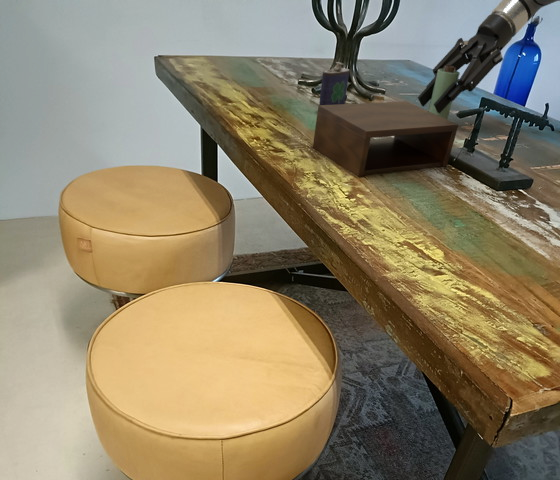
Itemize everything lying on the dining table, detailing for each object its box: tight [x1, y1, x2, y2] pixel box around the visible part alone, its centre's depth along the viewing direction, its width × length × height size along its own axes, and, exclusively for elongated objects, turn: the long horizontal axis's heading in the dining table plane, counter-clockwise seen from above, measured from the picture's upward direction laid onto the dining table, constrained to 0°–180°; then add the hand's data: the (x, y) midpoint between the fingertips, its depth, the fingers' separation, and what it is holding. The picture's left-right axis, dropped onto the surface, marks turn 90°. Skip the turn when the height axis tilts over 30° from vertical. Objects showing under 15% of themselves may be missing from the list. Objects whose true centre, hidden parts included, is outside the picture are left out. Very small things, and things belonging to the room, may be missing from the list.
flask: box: [318, 61, 351, 105], centre depth 133 cm, size 9×3×11 cm, turn 140°
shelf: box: [312, 100, 459, 178], centre depth 111 cm, size 16×22×8 cm
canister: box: [427, 65, 461, 120], centre depth 133 cm, size 5×5×12 cm
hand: (428, 105), depth 133 cm, fingers closed on canister, 5 cm apart
